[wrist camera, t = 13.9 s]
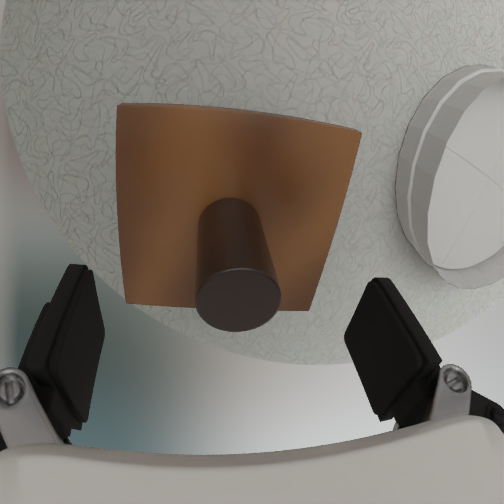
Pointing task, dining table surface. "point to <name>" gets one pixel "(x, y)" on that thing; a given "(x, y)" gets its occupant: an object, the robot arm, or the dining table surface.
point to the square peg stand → (227, 208)
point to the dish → (456, 177)
